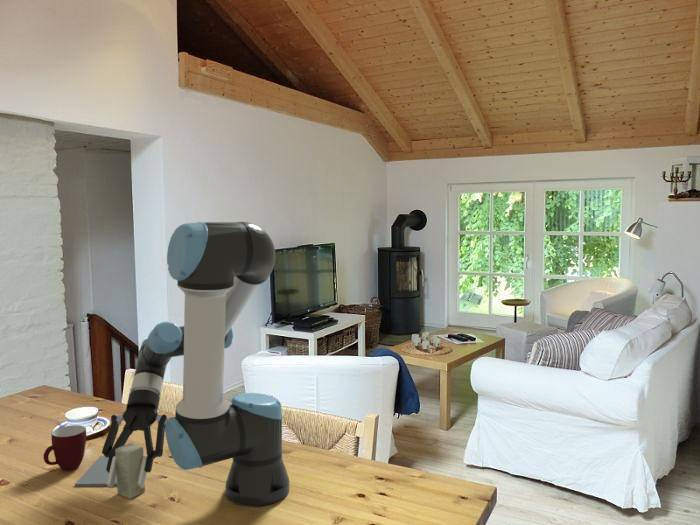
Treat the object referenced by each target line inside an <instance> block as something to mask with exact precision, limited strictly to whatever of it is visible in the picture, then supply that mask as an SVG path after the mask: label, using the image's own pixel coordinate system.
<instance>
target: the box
mask: <svg viewBox="0 0 700 525" xmlns="http://www.w3.org/2000/svg"><path fill="white" fill-rule="evenodd" d="M115 450H116V471H117V486H116V488H117V490H116V492H117V494H118V495H120V496H123V497H125V498H129V499H132V498H135V497H137V496H139V495H141V494H143V493H145V492H146V484H144V488H140V487H139V485H138V480H139V475H140V470H141V465H142V460H143V456H144V447H143V446H140V445H138V444H134V443H131V442H130V443H127V444H125V445H124V446H122V447H119V448H117V449H115Z"/></svg>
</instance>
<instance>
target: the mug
mask: <svg viewBox="0 0 700 525" xmlns="http://www.w3.org/2000/svg"><path fill="white" fill-rule="evenodd" d="M86 444H87V428H86V427H85V426H84V425H80V424H79V425H77V424H73V425H66V426H65V425H64V426H62V427H58V428H56V429H54V430H52V431H51V445H49V446H48V447H47V448H46V449H45V450H44V453H43V461H44V463H45V464H46V465H49V466H56V465H57V466H58V467H59V468H60V469H61V471H63V472H73V471H75V470H77V469H78V468H79V467H80V466H81V463H83V462H82V461H83V459H84V457H85V451H86ZM52 451H53V455H54V458H55V460H54V461H50V458H49V455H50V453H51V452H52Z"/></svg>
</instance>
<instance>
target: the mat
mask: <svg viewBox="0 0 700 525" xmlns="http://www.w3.org/2000/svg"><path fill="white" fill-rule="evenodd" d="M108 459H109V458H108V457H107V458H106V457H105V456H104V455H99V456H98V458H97V459H96V460H95V461H94V462H93V464H92V465H90V467H88V469H87V470H85V472H84V474H82V476H81V477H80V478H79V479H78V480H77V481H76V482H75V483H74V487H108V486H107V480H108V476H109V473H108V472H107V470H106V467H107V463H108ZM114 487H117V474H116V478H115V482H114Z"/></svg>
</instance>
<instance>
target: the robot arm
mask: <svg viewBox="0 0 700 525" xmlns="http://www.w3.org/2000/svg"><path fill="white" fill-rule="evenodd" d="M166 255H167V256H166V261H167V262H166V264H167V265H168V268H167V269H168V273H169V276H170V277H171V278H172V279H173V280H175V281H177V284H176V285H177V287H178V288H179V290H181V291H182V292H183V293H184V314H183V315H184V316H183V317H184V318H183V319H184V321H183V325H182V326H181V325H180V326H179V325H177V324H176V323H174V322H170V321H162V322H160V323H158V324H156V325H155V326H154V327H153V329H152V330H151V331H150V332H149V334H148V336H147V338H146V339H143V341H142V342H141V344H140V348H139V350H138V358H137V361H136V366H135V371H134V375H133V379H132V382H131V386H130V389H129V390H130V392H129V396H128V399H127V404H126V408H125V410H124V412H123V413H122V414H120V415H116V414H112V415H111V417H110V420H111V421H110V427H109V429H108V432H107V435H106V438H105V442H104V444H103V447H102V449H101V453H102V454H103V455H102V456H105V457H106V458H107V457H108V458H109V459H108V463H107V467H106V470H107V472H108V473H109V476H108V480H107V486H106V487H108V489H114V487H115V486H114V482H115V478H116V474H117V471H116V450H115V449H117V448H119V447H122V446H124V445H126V443H127V442H128V439H129V438H130V437H131V435H132V434H133V433H134V432H136V431H137V432H138V431H141V432H142V431H143V435H144V443H145V450H146V455H147V456H146V455H143V460H142V465H141V470H140V475H139V480H138V485H139V487H140V488H144V484H145V483H146V480H147V479H146V477H147V474H148V473H151V472H152V468H153V465H154V464H153V463H154V460H155V459H156V458H162V457H163V452H164V443H165V442H164V441H165V438H166V444H167V446H168V447H167V448H168V451H169V452H170V455H171V457H172V459H173V461H174V463H175V464H176V465H177V466H178V467H179V469H181V470H185V471H187V470H189V471H190V470H193V469H197V468H199V469H200V468H203V467H206V466H209V465H212V464H215V463H220V462H223V461H227V460H230V459H232V463H231V466H230V468H229V472H228V475H227V478H226V480H225V496H226V498H227V499H228V501H230V502H232V503H233V504H237V505H239V506H245V507H261V506H262V507H263V506H268V505H271V504H274V503H278V502H280V501H281V500H283V499H284V498H285V497H287V495H288V494H289V492H290V478H289V474H288V472H287V469H286V466H285V463H284V460H283V419H284V416H283V410H282V409H283V408H282V403H281V402H280V400H279V399H278V398H276V397H274V396H272V395H269V394H265V393H257V392H256V393H255V392H245V393H244V392H243V393H238V394H235V395H234V396H232V398H231V401H230V402H231V404H230V402H229V401H228V400H227V399H226V398H224V379H225V377H224V375H225V374H224V373H225V371H224V370H225V349H228V348H229V347H231V346H232V344H233V338H234V332H233V329H232V327H233V326H234V324H235V322H236V321H237V319H238V317H239V316H240V314H241V313H242V311H243V310H244V308H245V306H246V305H247V303H248V302H249V300H250V298H251V297H252V296H253V294H254V292H255V291H256V289H257V288H258V286H260V285H262V284H264V283H265V282H266V281H267V280H268V278H269V277H270V276H271V274H272V272H273V270H274V267H275V265H276V256H277V255H276V247H275V245H274V242H273V240H272V238H271V237H270V235H269V234H268V233H267V232H266V230H265V229H263V228H261V227H260V226H259V225H257V224H255V223H252V222H248V221H238V222H235V221H234V222H233V221H231V222H230V221H228V222H225V221H224V222H223V221H222V222H221V221H219V222H218V221H217V222H215V221H212V222H211V221H206V222H205V221H197V222H189V223H182V224H180V225H178V226H177V227H176V229H175V230H174V231H173V233H172V234H171V237H170V239H169V242H168V247H167V254H166ZM180 356H181V357H182V356H183V370H182V371H183V372H182V373H183V375H182V377H183V379H182V380H183V381H182V382H183V383H182V387H183V388H182V399H180V401H179V402H178V403H176V405H175V416H171V417H170V418H168V416H167V415H166V414H162V415H161V414H158V409H159V405H160V399H161V397H160V396H161V395H162V394H161V393H162V388H163V385H164V378H165V374H166V369H167V366H168V364H169V362H170V361H171V359H172V358H174V357H175V358H176V357H180ZM123 421H124V422H125V425H124V426H123V428H122V431H121V433H120V434H119V436H118V437H117V435H118V432H119V427H120V426H121V424H122V422H123ZM156 421H157V431H156V440H155V449H154V444H153V439H152V438H153V437H152V430H151V426H152V425H153V424H154V423H155V422H156ZM115 440H116V441H115ZM145 485H146V484H145Z"/></svg>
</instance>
